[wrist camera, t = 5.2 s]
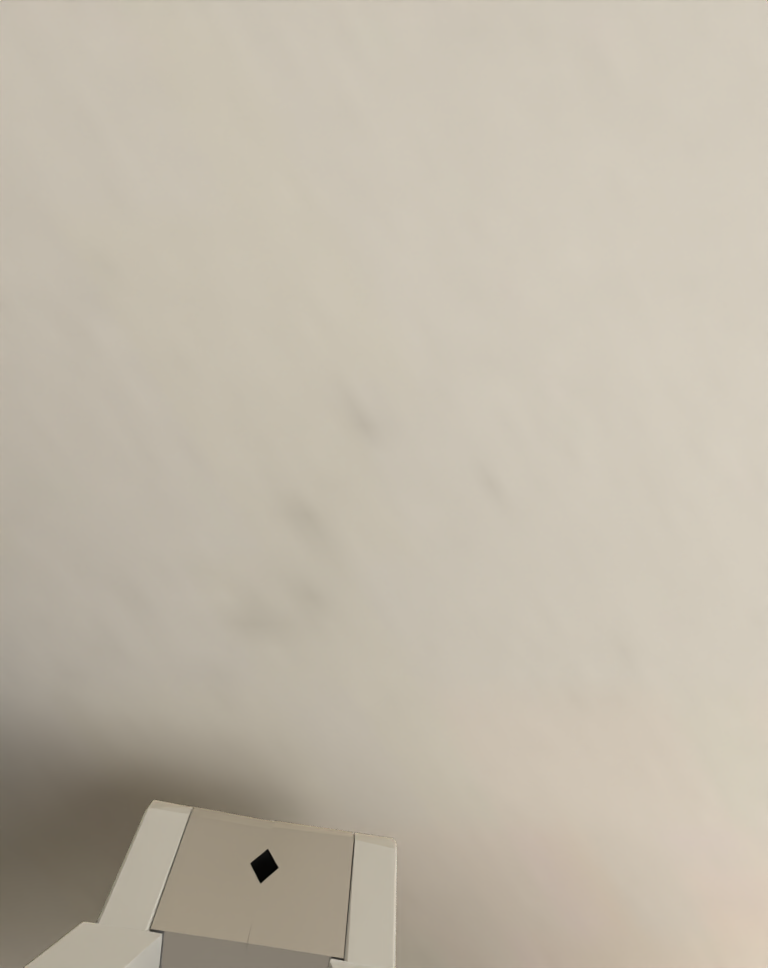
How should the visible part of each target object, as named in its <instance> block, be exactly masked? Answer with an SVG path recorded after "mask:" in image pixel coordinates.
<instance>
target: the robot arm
mask: <svg viewBox="0 0 768 968" xmlns="http://www.w3.org/2000/svg"><path fill="white" fill-rule="evenodd" d="M396 877H397V845H396V842H395V840H394V838H388V837H381V836H375V835H368V834H362V833H354V835H353V832H350V831H343V830H337V829H330V828H323V827H316V826H309V825H303V824H296V823H289V822H282V821H270V820H264V819H259V818H254V817H248V816H243V815H238V814H232V813H227V812H221V811H216V810H211V809H205V808H200V807H191V806H185V805H180V804H174V803H169V802H164V801H158V800H153V801H152V802H151V804H150V805H149V806H148V808H147V809H146V810H145V812H144V815H143V817H142V819H141V822H140V824H139V826H138V829H137V831H136V833H135V835H134V838H133V840H132V842H131V845H130V847H129V849H128V851H127V854H126V856H125V858H124V861H123V863H122V865H121V868H120V870H119V872H118V874H117V877H116V879H115V881H114V884H113V886H112V888H111V890H110V893H109V895H108V897H107V900H106V902H105V904H104V907H103V909H102V911H101V913H100V916H99V918H98V920H97V923H94V922H85V921H83V922H81V923H80V924H79V925H77V926H76V927H75V928H74V929H72V930H71V931H70V932H68V933H67V934H66V935H65V936H63V937H62V938H61V939H59V940H58V941H57V942H56V943H54V944H53V945H52V946H50V947H49V948H48V949H47V950H45V951H44V952H43V953H41V954H40V955H39V956H38V957H36V958H35V959H34V960H32V961H31V962H30V963H29V964H27V965H26V966H25V967H23V968H395V960H396Z"/></svg>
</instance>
